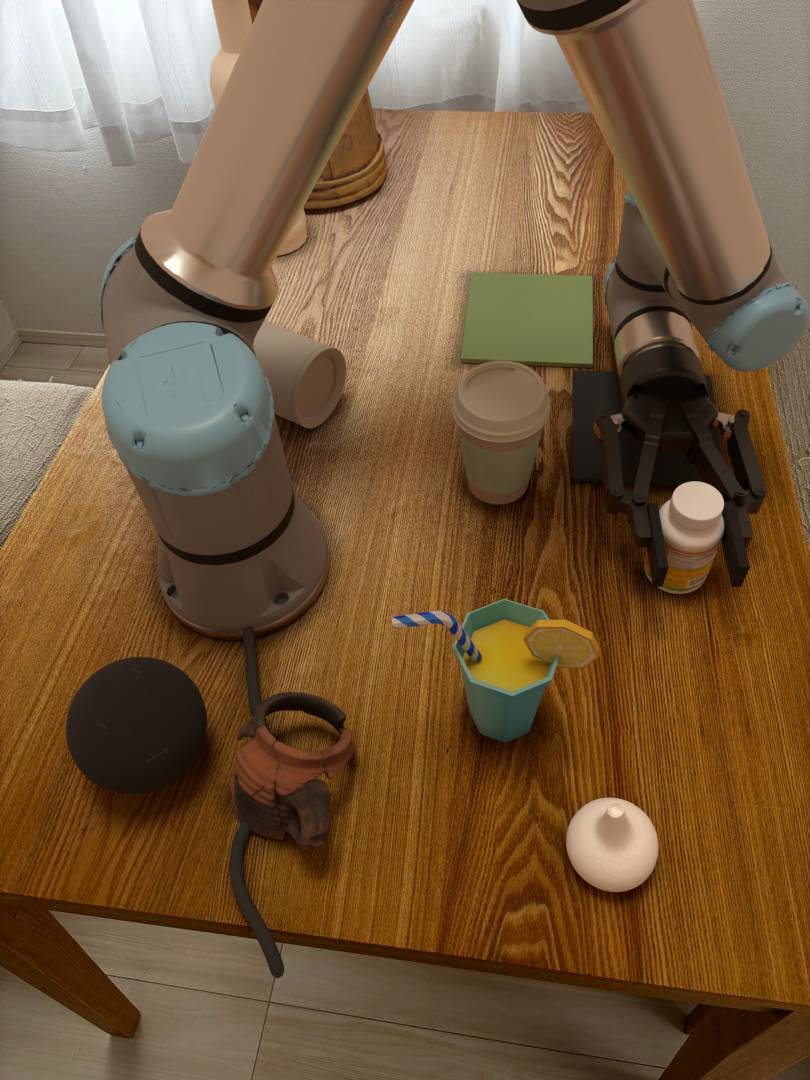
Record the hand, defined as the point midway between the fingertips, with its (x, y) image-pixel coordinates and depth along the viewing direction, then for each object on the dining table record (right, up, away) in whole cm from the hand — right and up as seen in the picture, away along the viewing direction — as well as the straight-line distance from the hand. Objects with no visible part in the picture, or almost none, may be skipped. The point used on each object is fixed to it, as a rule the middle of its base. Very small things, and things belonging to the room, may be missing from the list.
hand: (700, 576), depth 68 cm
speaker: (-43, -14, +1) cm, 45 cm away
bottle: (-39, +41, +42) cm, 70 cm away
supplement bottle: (+1, 0, +8) cm, 9 cm away
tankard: (-34, +54, +51) cm, 82 cm away
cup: (-16, -11, +1) cm, 20 cm away
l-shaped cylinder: (-40, +17, +24) cm, 50 cm away
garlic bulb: (-9, -20, -5) cm, 22 cm away
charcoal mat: (+1, +14, +19) cm, 23 cm away
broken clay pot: (-31, -16, -2) cm, 35 cm away
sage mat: (-9, +28, +29) cm, 41 cm away
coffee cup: (-14, +8, +16) cm, 23 cm away
